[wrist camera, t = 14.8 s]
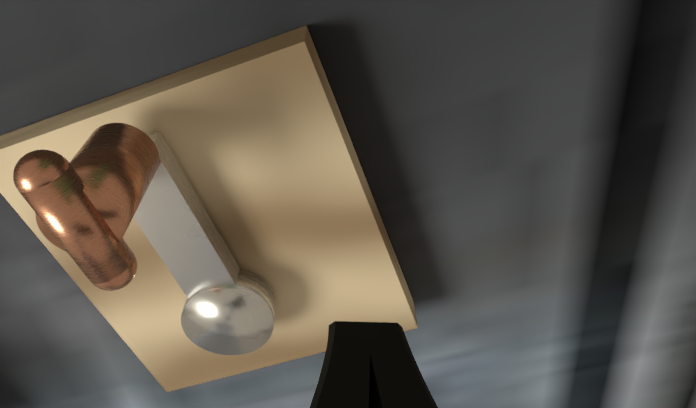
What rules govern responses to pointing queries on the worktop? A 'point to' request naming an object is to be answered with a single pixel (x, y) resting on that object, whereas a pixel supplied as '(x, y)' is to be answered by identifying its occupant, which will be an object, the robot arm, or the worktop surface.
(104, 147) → the crank
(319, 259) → the crank base
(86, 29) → the worktop surface
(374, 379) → the robot arm
